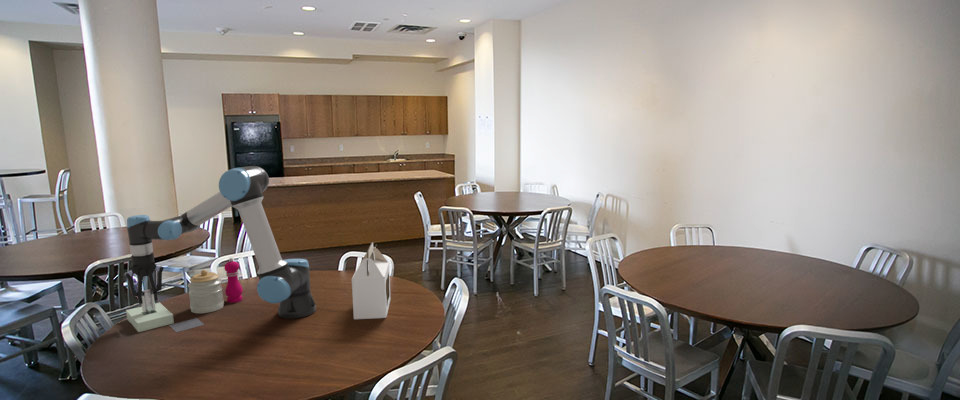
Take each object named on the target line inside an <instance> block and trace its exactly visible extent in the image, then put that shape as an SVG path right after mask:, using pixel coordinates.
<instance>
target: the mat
mask: <svg viewBox="0 0 960 400" xmlns="http://www.w3.org/2000/svg"><path fill="white" fill-rule="evenodd" d="M204 325H205V324H204V322H202V321H201V320H200V319H199V318H198V317H195V318H191V319H187V320H183V321H180V322H176V323H175V322H174V323H172V324H169V325H168V326H169V327H170V328H171V329H172V330H173V331H174V332H175V333H180V332H183V331H186V330H187V331H188V330H190V329H194V328H197V327H200V326H201V327H202V326H204Z"/></svg>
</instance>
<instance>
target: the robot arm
mask: <svg viewBox="0 0 960 400" xmlns="http://www.w3.org/2000/svg"><path fill="white" fill-rule="evenodd" d="M218 180H219V181H218V190H219V191H218V192H217V193H215V194H214V195H211V196H210V197H209V198H207V199H205V200H204V201H202V202H201V203H198V204H197V205H195V206H193V207H191V209H189V210H187V211H185V212H184V213H182V214H180V215H178V216H175V217H171V218H167V219H162V220H151V218H150V216H149V215H148V214H137V215H131V216H128V217H127V219H126V230H127V234H128V241H129V250H130V255H131V256H130V259H131V268H130V270H129V271H127V272H126V271H125V272H124V273H123V275H124V276H125V277H126V279H127V283H128V287H129V290H130V294H131V295H132V296H133V297H137V303H138V304H139V305H141V307H142V311H143V312H146V307H145V298H144V296H143V295H142V291H143V278H144V277H147V278H148V282H149V287H150V290H151V291H152V294H151V295H152V304H153V310H154V309H155V303H156V301H158V292H159V291H160V292H161V291H162V289H163V288H162V286H163V284H162V283H163V279H162V278H163V271H164V270H165V269H164V267H163V266H162V265H157V264H156V262H155V255H154V254H155V253H153V252H154V247H153V246H154V245H153V240H159V241H161V240H162V241H170V240H177V239H178V238H179V237H181V235H184V234H186V233H191V232H193V231H195V230H197V229H199V227H200V226H201V225H203V224H205V223H206V222H208V221H209V220H211V219H213V218H214V217H216V216H217V215H220V214H221V213H222V212H223V213H224V211H227V210H228V209H229V208H234V209H236V210H237V211H238V213H239V216H240V218H241V221H242V225H243V226H244V230H245V232H246V235H247V238H248V240H249V243H250V245H251V248H252V250H253V253H254V256H255V259H256V262H257V264H258V267H259V269H258V270H257V272H256V273H257V277H258V282H257V285H256V291H257V294H258V296H259V298H261V299H262V301H264V302H266V303H269V304H279V305H278V308H277V311H278V312H277V313H278V315H277V316H278V317H280V318H282V319H299V318H305V317H308V316H310V315H312V314H314V313H315V312H317V304H316V303H315V302H316V301H315V299H314V297H313V295H312V292H311V280H310V279H311V277H310V265H309V263H310V262H309V261H308V259H306V258H287V259H283V258H282V256H281V253H280V250H279V247H278V245H277V242H276V240H275V236H274V233H273V231H272V228H271V226H270V223H269V220H268V218H267V214H266V211H265V209H264V207H263V204H262V202H263V200H264V194H263V193H264V192H265V191H266V190H267V189H268V187H269V185H270V177H269V175H268V173H267V171H266V170H265V169H264V168H262V167H260V166H258V165H257V166H256V165H248V166H241V167H233V168H231V169H228V170H226V171H225V172H224V173H222V175H221V176H220V178H219V179H218ZM155 271H156V283H155V281H154V277H153V273H154V272H155ZM133 274H134V275H135V276H137V277H136V278H137V280H136V281H137V282H136V283H137V285H136V288H135V285H134V280H133V277H132V276H133Z"/></svg>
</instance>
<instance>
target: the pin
mask: <svg viewBox="0 0 960 400" xmlns="http://www.w3.org/2000/svg"><path fill="white" fill-rule="evenodd" d="M151 294H152V290H151V289H144V290H142V295H143V296H144V298H145V307H146V312H144V313H145V315H148V314H152V313H154V310H153V304H152V295H151Z"/></svg>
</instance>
